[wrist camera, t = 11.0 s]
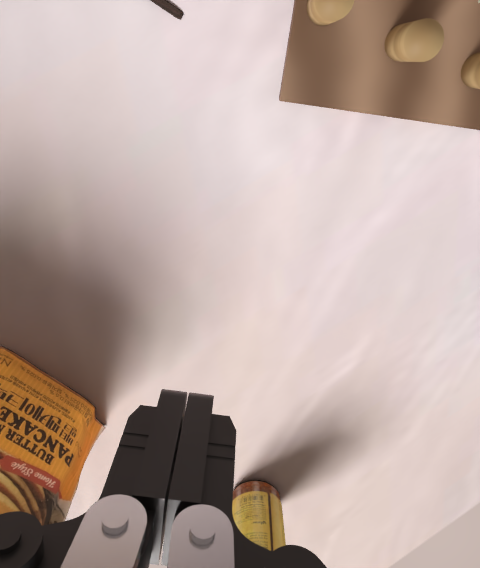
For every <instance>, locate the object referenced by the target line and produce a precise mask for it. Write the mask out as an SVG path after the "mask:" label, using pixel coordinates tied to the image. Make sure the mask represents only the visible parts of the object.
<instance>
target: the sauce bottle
mask: <svg viewBox="0 0 480 568" xmlns="http://www.w3.org/2000/svg"><path fill="white" fill-rule="evenodd" d="M232 514H233V519H234V521H235V524H236V526H237V527H238V529H239V530H240V532H241V533H242V534H243V535H244V536H245V537H246V538H248V539H249V540H250V541H252V542H254V543H256V544H258V545H260V546H262V547H264V548H266V549H268V550H270V551H274V550H275V549H277V548H279V547H282V546H285V545H286V544H285V534H284V524H283V514H282V505H281V502H280V496H279V493H278V491H277V490H276V489H275V488H274V487H272V486H271V485H270V484H268V483H266V482H262V481H248V482H245V483H242V484H240V485H239V486H238V487H236V489H235V490H234V491H233V503H232Z"/></svg>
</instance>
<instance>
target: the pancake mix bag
mask: <svg viewBox="0 0 480 568" xmlns="http://www.w3.org/2000/svg"><path fill="white" fill-rule="evenodd" d="M104 429H105V427H104V426H103V425H102V424H101V423H100V422H99V421H98V420H97V419H96V418H95V407H94V406H93V405H92V404H91V403H90V402H88V401H87V400H86V399H85V398H84V397H82V396H81V395H79V394H78V393H76V392H74V391H73V390H71V389H70V388H68V387H67V386H65V385H64V384H62V383H61V382H59V381H58V380H56V379H54V378H53V377H51V376H50V375H48V374H46V373H45V372H43V371H41V370H40V369H38V368H37V367H35V366H34V365H32V364H31V363H30V362H28V361H27V360H25V359H23V358H22V357H20V356H19V355H17V354H16V353H14V352H12V351H10V350H8V349H6V348H4V347H2V346H0V514H3V513H7V512H13V511H21V512H26V513H29V514H31V515H33V516H35V517H36V518H37V519H38V520H39V522H40V523H41V526H42V525H48V524H53V523H59V522H64V521H65V519H66V516H67V514H68V511H69V508H70V505H71V502H72V499H73V497H74V494H75V492H76V490H77V486H78V482H79V478H80V474H81V471H82V468H83V465H84V463H85V461H86V459H87V456H88V454H89V452H90V450H91V449H92V447H93V445H94V443H95V441H96V440H97V438H98V437H99V435H100V434H101V433H102V432H103V430H104Z"/></svg>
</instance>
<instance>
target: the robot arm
mask: <svg viewBox="0 0 480 568" xmlns="http://www.w3.org/2000/svg"><path fill="white" fill-rule="evenodd" d="M213 398H214V396H212V395H205V394H197V393H189V396H188V401H187V392H181V391H173V390H165V389H162V391H161V394H160V398H159V401H158V405H157V407H152V406H144V405H140V406H139V407H138V408H137V409H136V410H135V411H134V412H133V413H132V414H131V415H130V416H129V418H128V420H127V423H126V426H125V429H124V432H123V435H122V437H121V440H120V443H119V447H118V449H117V452H116V454H115V457H114V460H113V463H112V466H111V469H110V471H109V474H108V477H107V480H106V483H105V486H104V488H103V491H102V494H101V496H100V498H99V500H98V501H97V502H95V503H94V504H93V505H92V506H91V507H90V508H89V509H88V511H87V512H86V513H84V514H83V515H81V516H79V517H77V518H74V519H72V520H69V521H64V522H59V523H53V524H48V525H42V526H41V523H40V522H39V520H38V519H37V518H36V517H35V516H33V515H31V514H29V513H26V512H21V511H13V512H7V513H3V514H0V568H148V567H149V564H155V565H159V560H160V554H161V549H162V544H163V539H164V544H163V554H162V565H165V566H167V568H327V567H326V566H325V565H324V564H323V563H322V562H321V560H320V559H319V558H318V557H317V556H316V555H315V554H313V553H312V552H311V551H309V550H307V549H306V548H303V547H301V546H296V545H285V546H282V547H279V548H277V549H275V550H274V551H270V550H268V549H266V548H264V547H262V546H260V545H258V544H256V543H254V542H252V541H250V540H249V539H248V538H246V537H245V536H244V535H243V534H242V533H241V532H240V530H239V529H238V527H237V526H236V524H235V521H234V519H233V514H232V503H233V483H234V464H235V462H234V460H235V444H236V429H235V427H234V425H233V423H232V421H231V418H230V416H223V415H215V414H212V406H213ZM186 401H187V406H186ZM185 410H186V411H185Z"/></svg>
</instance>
